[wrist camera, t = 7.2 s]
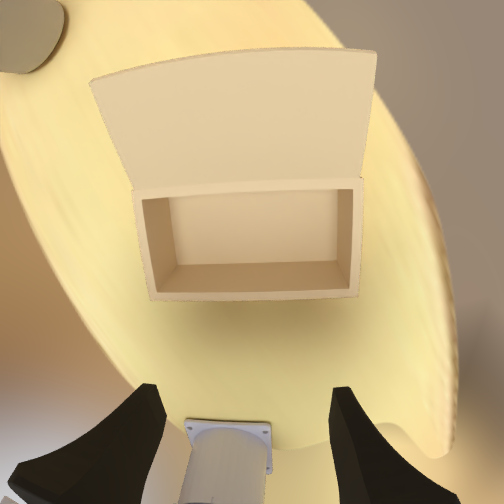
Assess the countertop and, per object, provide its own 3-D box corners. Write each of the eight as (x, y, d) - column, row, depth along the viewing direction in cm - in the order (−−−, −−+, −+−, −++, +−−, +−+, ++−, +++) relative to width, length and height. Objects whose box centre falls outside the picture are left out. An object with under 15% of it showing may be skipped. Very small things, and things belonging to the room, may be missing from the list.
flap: (377, 54, 9) (374, 50, 9) (88, 83, 10) (92, 78, 10) (359, 178, 13) (357, 172, 14) (134, 190, 14) (136, 184, 15)
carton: (342, 264, 20) (357, 296, 16) (173, 268, 21) (150, 300, 17) (343, 169, 18) (363, 178, 14) (162, 178, 19) (131, 190, 14)
